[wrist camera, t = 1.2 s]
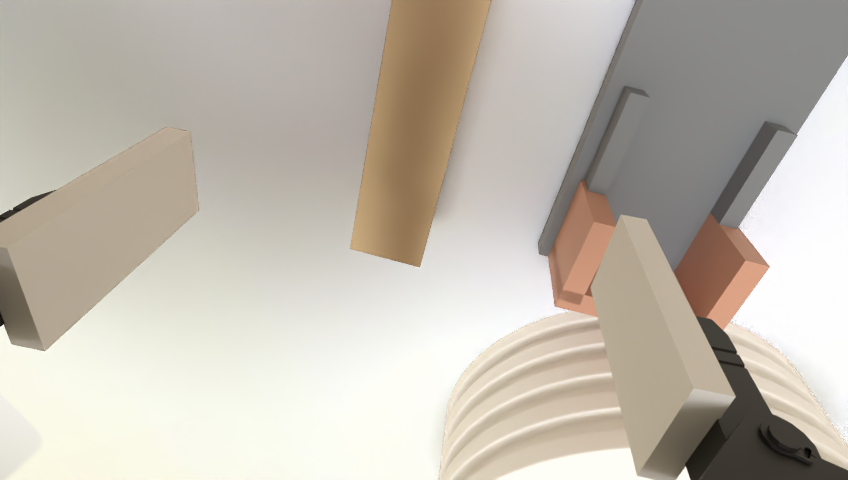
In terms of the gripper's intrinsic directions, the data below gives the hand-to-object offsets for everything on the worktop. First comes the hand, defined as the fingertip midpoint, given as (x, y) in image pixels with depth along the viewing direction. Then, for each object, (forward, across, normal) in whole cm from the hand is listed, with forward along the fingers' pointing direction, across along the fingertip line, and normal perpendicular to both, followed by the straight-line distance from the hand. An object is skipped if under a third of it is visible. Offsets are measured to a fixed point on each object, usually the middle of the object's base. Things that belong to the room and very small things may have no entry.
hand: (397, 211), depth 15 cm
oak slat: (+15, -1, -1) cm, 15 cm away
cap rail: (+15, +13, +3) cm, 20 cm away
